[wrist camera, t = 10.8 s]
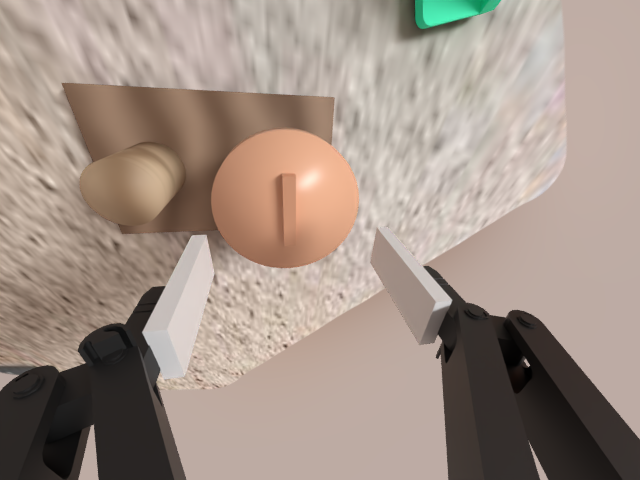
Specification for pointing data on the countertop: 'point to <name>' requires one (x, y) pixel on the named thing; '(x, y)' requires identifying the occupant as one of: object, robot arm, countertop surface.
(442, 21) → the camera mount
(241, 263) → the countertop surface
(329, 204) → the domed pot lid
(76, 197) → the countertop surface
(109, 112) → the brown board with post
